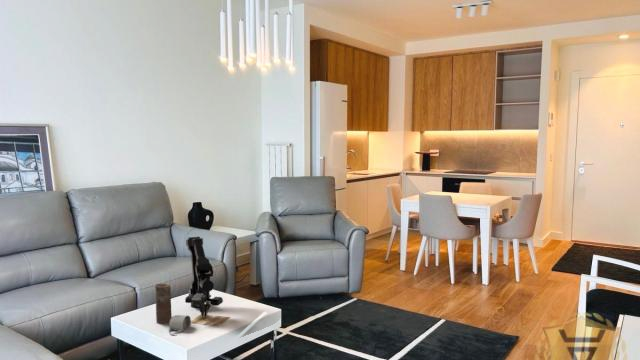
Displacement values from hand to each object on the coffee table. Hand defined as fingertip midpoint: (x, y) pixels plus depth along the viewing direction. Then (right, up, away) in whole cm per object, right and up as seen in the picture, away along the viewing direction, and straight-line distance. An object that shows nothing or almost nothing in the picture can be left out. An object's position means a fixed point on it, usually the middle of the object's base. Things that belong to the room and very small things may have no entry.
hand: (204, 316), depth 244 cm
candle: (-19, -2, -6) cm, 20 cm away
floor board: (+8, -2, -5) cm, 9 cm away
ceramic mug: (-8, -3, -16) cm, 18 cm away
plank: (-1, -2, -3) cm, 3 cm away
